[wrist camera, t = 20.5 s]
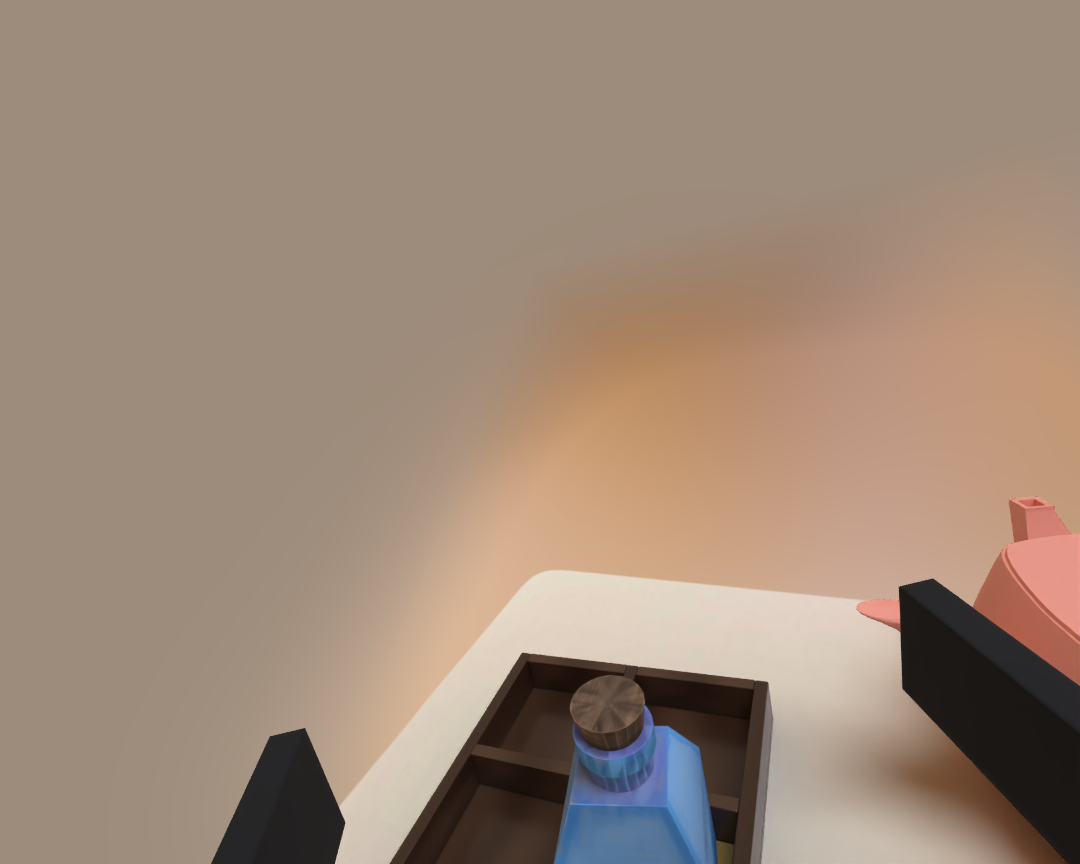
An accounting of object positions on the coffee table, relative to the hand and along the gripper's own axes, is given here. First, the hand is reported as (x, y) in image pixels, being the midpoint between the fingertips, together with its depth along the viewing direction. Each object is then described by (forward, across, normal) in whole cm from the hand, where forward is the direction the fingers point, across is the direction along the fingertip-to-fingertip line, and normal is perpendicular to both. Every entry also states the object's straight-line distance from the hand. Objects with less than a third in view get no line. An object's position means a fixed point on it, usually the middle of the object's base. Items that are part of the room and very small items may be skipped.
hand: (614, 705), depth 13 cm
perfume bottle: (+10, 0, -21) cm, 23 cm away
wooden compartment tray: (+15, -2, -22) cm, 26 cm away
